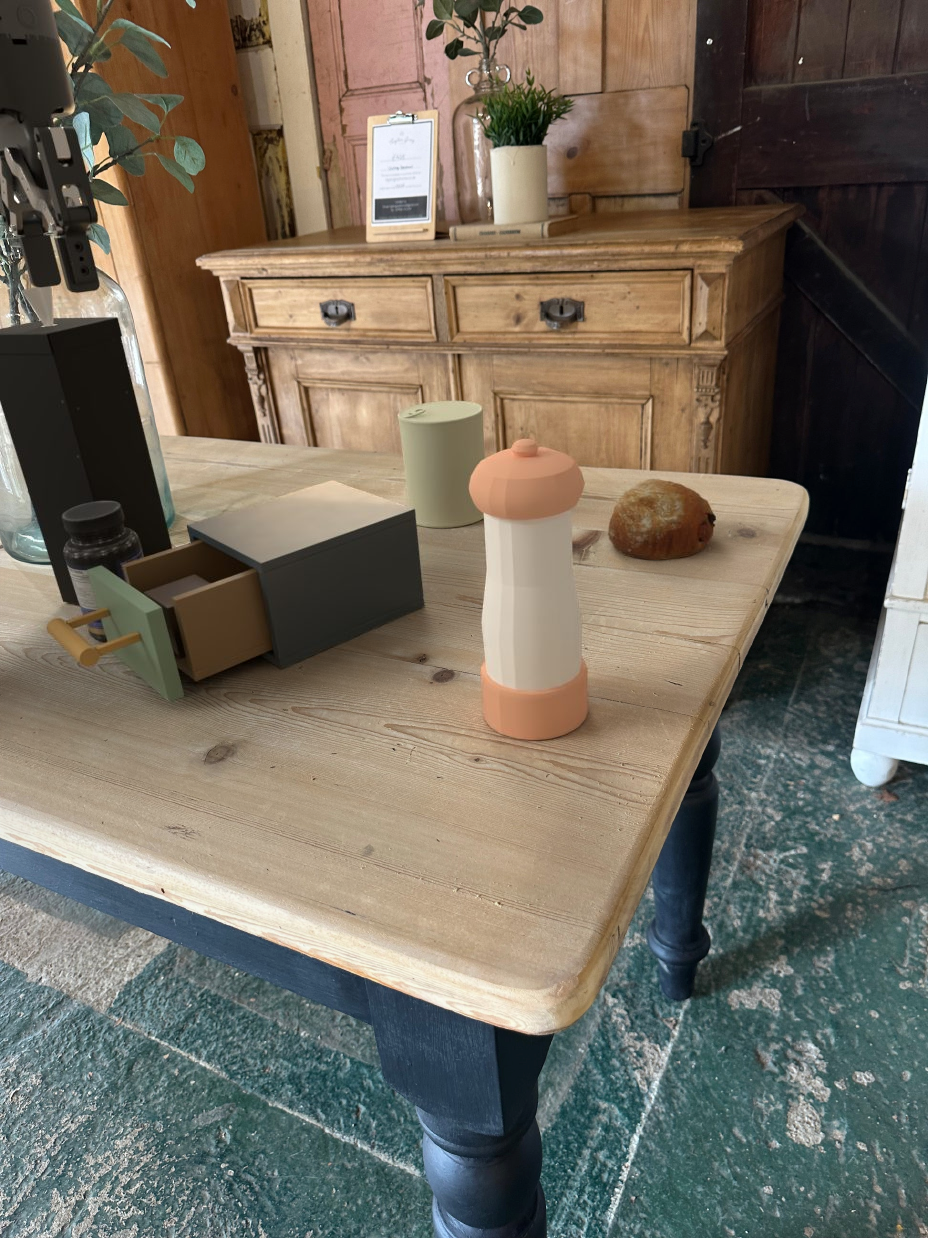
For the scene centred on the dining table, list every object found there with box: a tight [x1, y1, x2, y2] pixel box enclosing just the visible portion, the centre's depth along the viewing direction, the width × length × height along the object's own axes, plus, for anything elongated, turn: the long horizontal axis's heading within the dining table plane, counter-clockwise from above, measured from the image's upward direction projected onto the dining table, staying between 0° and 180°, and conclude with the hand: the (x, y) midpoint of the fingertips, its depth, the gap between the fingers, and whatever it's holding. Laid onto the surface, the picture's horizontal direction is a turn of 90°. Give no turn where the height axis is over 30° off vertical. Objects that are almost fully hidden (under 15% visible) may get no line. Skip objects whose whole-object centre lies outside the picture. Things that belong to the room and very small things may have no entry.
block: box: [144, 574, 211, 659], centre depth 68 cm, size 4×4×4 cm
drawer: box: [46, 540, 273, 703], centre depth 67 cm, size 18×11×7 cm, turn 131°
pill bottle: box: [62, 501, 144, 642], centre depth 74 cm, size 6×6×11 cm
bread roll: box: [607, 478, 717, 561], centre depth 84 cm, size 10×10×8 cm
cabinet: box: [186, 479, 426, 670], centre depth 74 cm, size 15×13×9 cm
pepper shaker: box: [469, 438, 589, 741], centre depth 56 cm, size 7×7×19 cm
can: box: [397, 400, 486, 529], centre depth 94 cm, size 9×9×12 cm
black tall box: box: [0, 286, 173, 606], centre depth 77 cm, size 8×8×28 cm
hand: (65, 288), depth 66 cm, fingers open, 8 cm apart
